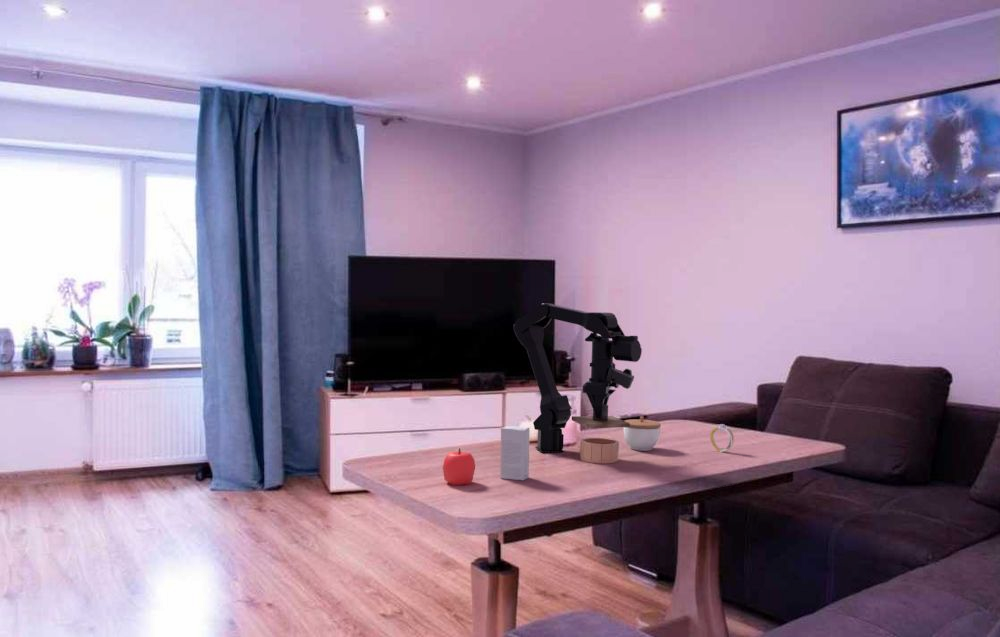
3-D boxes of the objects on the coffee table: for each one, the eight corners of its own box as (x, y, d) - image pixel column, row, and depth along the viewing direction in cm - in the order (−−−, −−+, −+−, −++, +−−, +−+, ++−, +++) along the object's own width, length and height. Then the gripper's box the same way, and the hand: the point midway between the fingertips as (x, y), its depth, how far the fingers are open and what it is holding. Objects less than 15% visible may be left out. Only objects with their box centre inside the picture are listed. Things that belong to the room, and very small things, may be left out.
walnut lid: (586, 427, 192) (587, 408, 192) (571, 420, 203) (572, 401, 203) (629, 427, 195) (630, 408, 194) (612, 419, 206) (613, 401, 206)
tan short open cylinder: (588, 464, 193) (588, 445, 193) (575, 456, 203) (575, 437, 203) (623, 463, 196) (624, 444, 195) (609, 455, 205) (610, 437, 205)
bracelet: (708, 450, 216) (709, 423, 216) (715, 449, 218) (716, 422, 218) (727, 454, 211) (728, 426, 210) (735, 453, 212) (735, 425, 212)
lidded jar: (663, 453, 211) (664, 420, 210) (625, 451, 211) (626, 419, 211) (655, 445, 221) (656, 414, 221) (620, 444, 221) (620, 413, 221)
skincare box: (529, 477, 177) (530, 427, 177) (523, 481, 173) (525, 430, 173) (505, 474, 179) (506, 425, 179) (499, 478, 175) (500, 428, 175)
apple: (448, 488, 165) (448, 452, 165) (436, 480, 172) (437, 445, 172) (481, 485, 168) (482, 450, 168) (468, 477, 175) (469, 444, 175)
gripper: (626, 363, 187) (623, 424, 188) (637, 358, 205) (635, 414, 205) (583, 360, 191) (581, 421, 191) (598, 356, 208) (596, 411, 209)
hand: (600, 416), depth 199 cm, fingers closed on walnut lid, 4 cm apart
